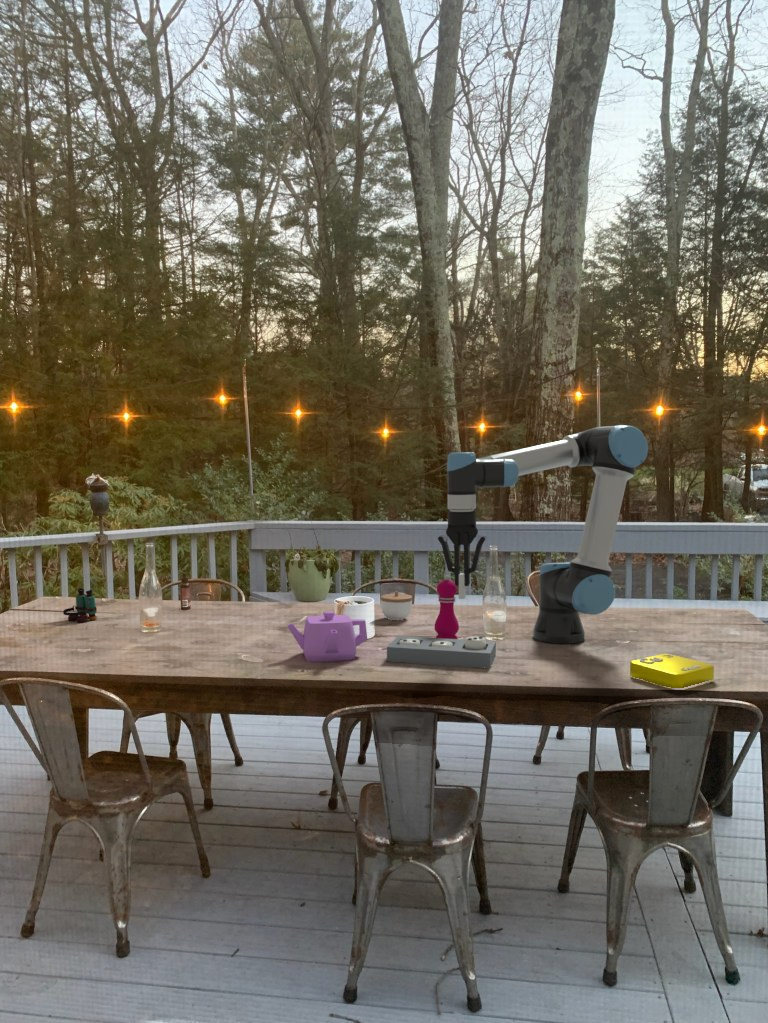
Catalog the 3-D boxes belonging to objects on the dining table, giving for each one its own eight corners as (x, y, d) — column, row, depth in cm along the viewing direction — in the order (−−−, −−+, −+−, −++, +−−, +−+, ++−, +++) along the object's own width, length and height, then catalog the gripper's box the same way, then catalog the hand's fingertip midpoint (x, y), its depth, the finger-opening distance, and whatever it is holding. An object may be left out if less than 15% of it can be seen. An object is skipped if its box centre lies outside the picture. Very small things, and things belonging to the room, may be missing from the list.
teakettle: (371, 653, 213) (371, 610, 212) (334, 667, 199) (333, 620, 198) (324, 645, 222) (323, 603, 221) (285, 658, 208) (284, 613, 207)
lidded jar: (414, 616, 262) (415, 589, 262) (408, 623, 252) (408, 595, 251) (384, 615, 265) (384, 588, 264) (377, 621, 254) (377, 593, 254)
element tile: (678, 693, 178) (678, 673, 177) (626, 678, 190) (626, 659, 190) (717, 683, 186) (717, 663, 185) (665, 668, 198) (665, 650, 198)
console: (495, 655, 210) (495, 641, 210) (490, 668, 197) (490, 653, 197) (398, 649, 217) (398, 635, 216) (386, 661, 204) (386, 646, 204)
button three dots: (486, 649, 207) (487, 635, 206) (484, 654, 201) (484, 640, 201) (466, 648, 208) (466, 634, 208) (463, 653, 203) (463, 639, 202)
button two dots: (421, 651, 211) (421, 638, 211) (417, 657, 206) (417, 643, 205) (402, 650, 213) (402, 637, 212) (397, 655, 207) (397, 641, 207)
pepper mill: (457, 645, 222) (457, 577, 220) (432, 644, 223) (433, 576, 222) (460, 639, 229) (460, 573, 227) (436, 638, 230) (436, 572, 229)
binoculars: (56, 593, 253) (82, 586, 261) (60, 624, 254) (86, 615, 263) (73, 596, 248) (99, 588, 256) (77, 627, 250) (103, 618, 258)
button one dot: (453, 654, 209) (454, 640, 209) (450, 659, 204) (450, 645, 203) (433, 652, 210) (433, 639, 210) (430, 658, 205) (430, 644, 205)
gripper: (488, 509, 205) (488, 596, 207) (440, 509, 208) (441, 594, 210) (484, 511, 198) (484, 601, 199) (434, 511, 201) (435, 599, 203)
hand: (462, 597), depth 205 cm, fingers closed
